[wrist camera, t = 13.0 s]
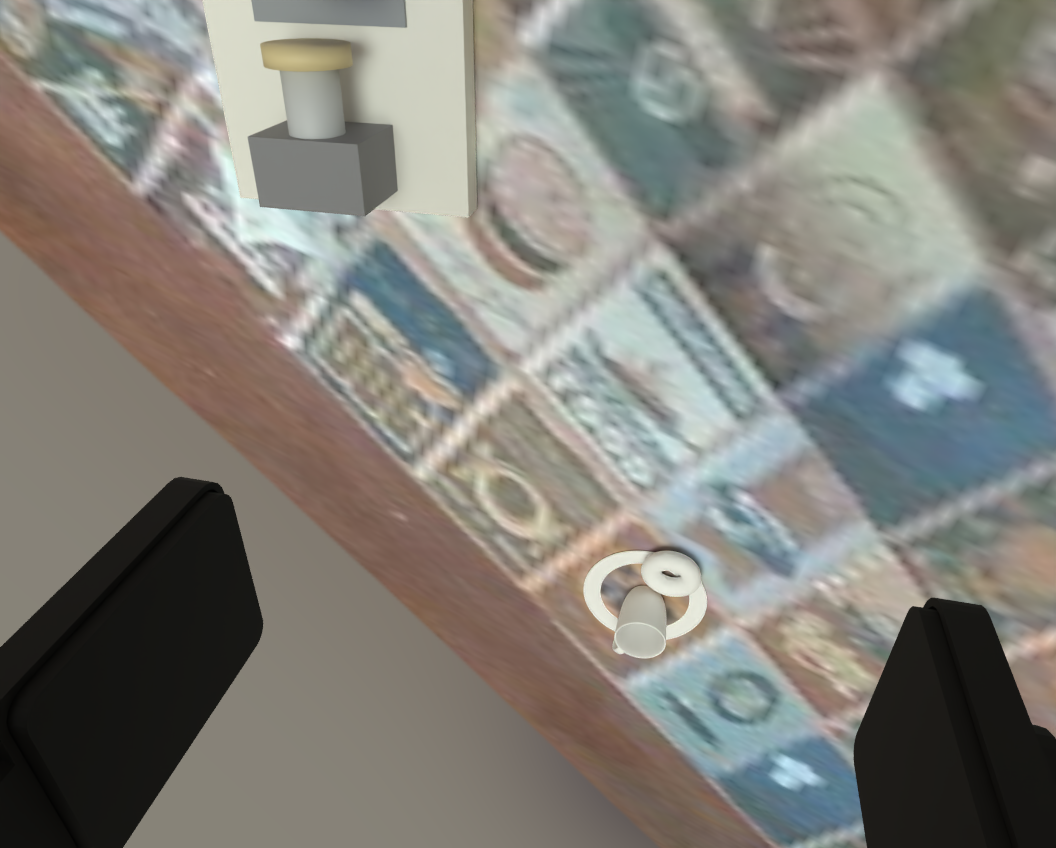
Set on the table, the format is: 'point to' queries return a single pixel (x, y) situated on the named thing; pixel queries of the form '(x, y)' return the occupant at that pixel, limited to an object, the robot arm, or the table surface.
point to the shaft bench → (349, 103)
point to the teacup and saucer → (648, 600)
